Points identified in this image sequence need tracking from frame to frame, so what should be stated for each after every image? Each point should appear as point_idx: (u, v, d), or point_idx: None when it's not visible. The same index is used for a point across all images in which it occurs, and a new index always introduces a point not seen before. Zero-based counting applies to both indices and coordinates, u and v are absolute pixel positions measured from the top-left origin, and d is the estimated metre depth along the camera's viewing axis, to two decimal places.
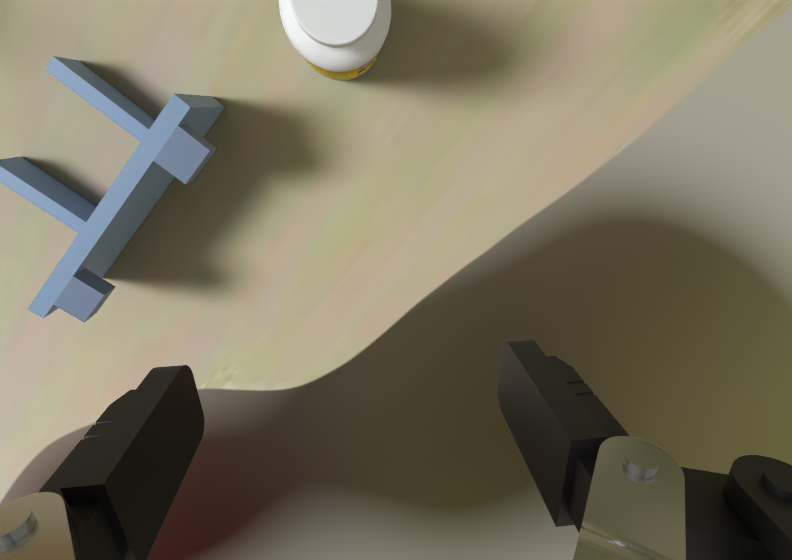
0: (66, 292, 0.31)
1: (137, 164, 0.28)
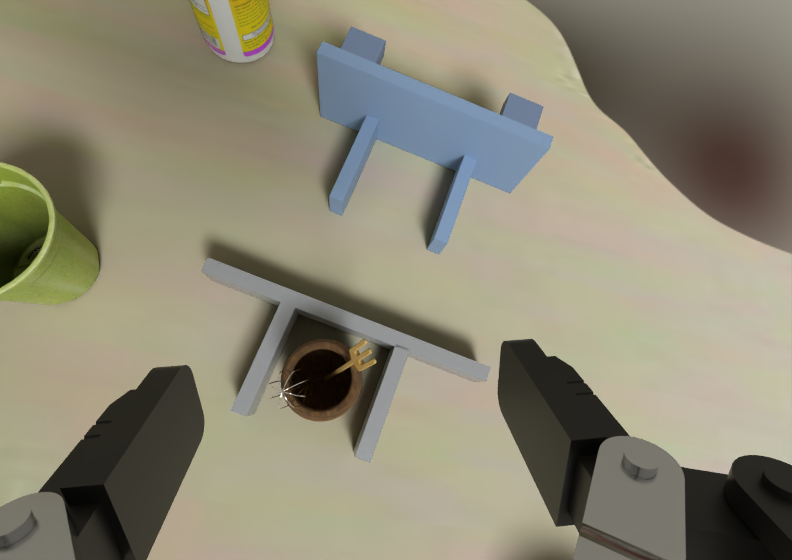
0: (520, 119, 0.34)
1: (383, 73, 0.33)
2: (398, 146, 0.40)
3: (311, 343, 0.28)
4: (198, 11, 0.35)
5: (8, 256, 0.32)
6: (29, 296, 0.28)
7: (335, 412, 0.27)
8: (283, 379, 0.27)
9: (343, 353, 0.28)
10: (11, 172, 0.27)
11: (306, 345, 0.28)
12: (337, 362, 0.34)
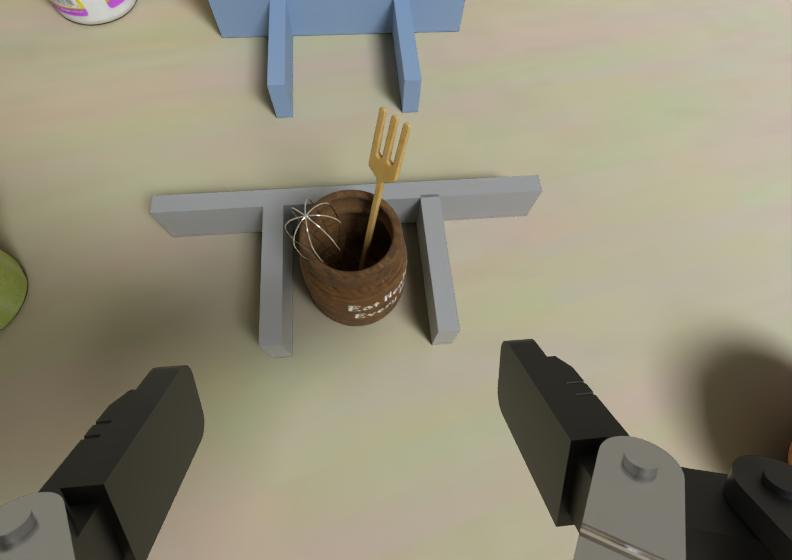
0: None
1: None
2: (320, 31, 0.35)
3: (319, 200, 0.21)
4: None
5: None
6: None
7: (389, 260, 0.20)
8: (304, 251, 0.20)
9: (364, 195, 0.21)
10: None
11: (314, 204, 0.21)
12: None
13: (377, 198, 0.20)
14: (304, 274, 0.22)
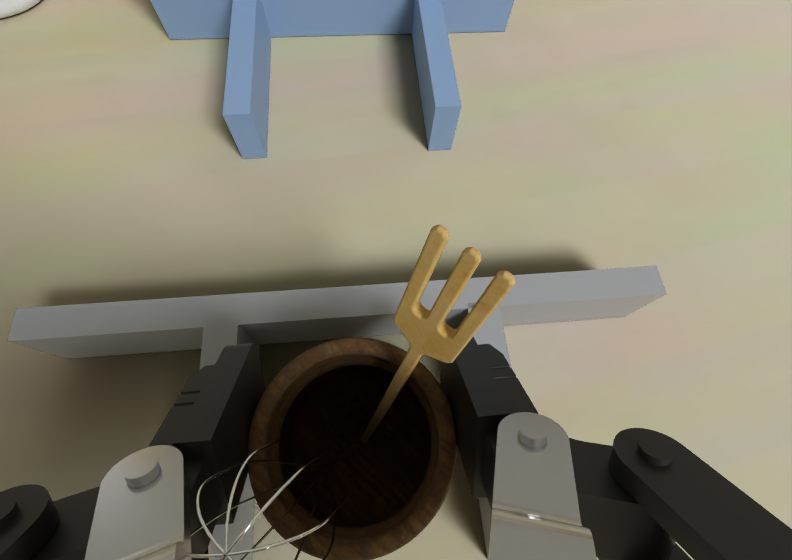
0: None
1: None
2: (309, 31, 0.24)
3: (290, 364, 0.10)
4: None
5: None
6: None
7: (433, 511, 0.09)
8: (255, 491, 0.09)
9: (379, 351, 0.11)
10: None
11: (280, 374, 0.10)
12: (371, 397, 0.17)
13: (408, 371, 0.10)
14: None
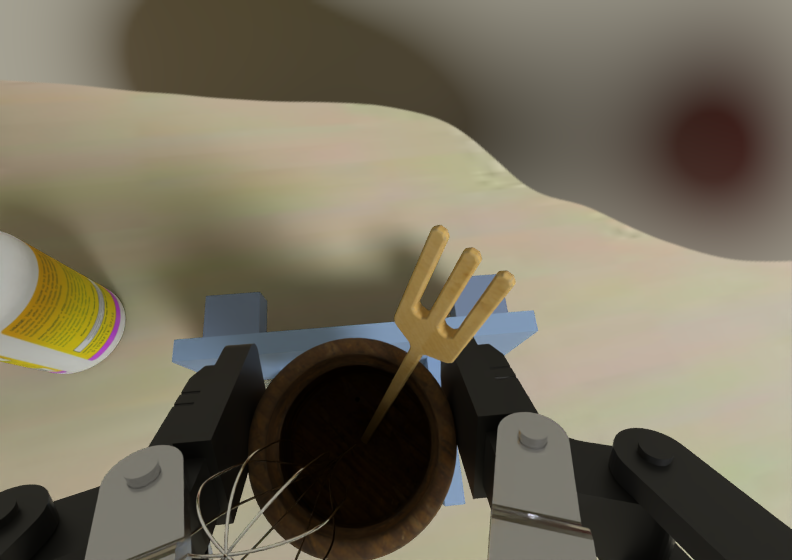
0: None
1: (275, 342, 0.23)
2: None
3: (290, 364, 0.10)
4: None
5: None
6: None
7: (433, 511, 0.09)
8: (255, 491, 0.09)
9: (379, 351, 0.11)
10: None
11: (280, 374, 0.10)
12: (371, 397, 0.17)
13: (408, 371, 0.10)
14: None
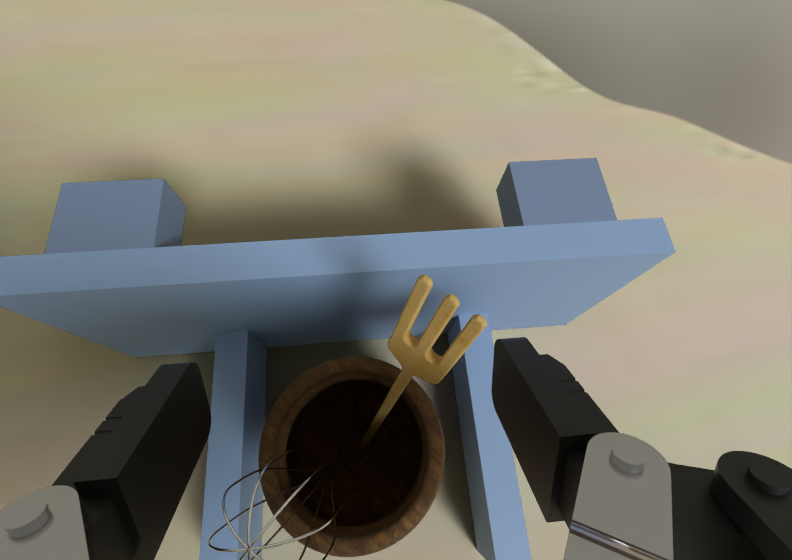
0: (568, 215, 0.13)
1: (183, 265, 0.12)
2: (317, 341, 0.19)
3: (296, 380, 0.12)
4: None
5: None
6: None
7: (422, 512, 0.11)
8: (266, 494, 0.11)
9: (376, 369, 0.12)
10: None
11: (287, 390, 0.12)
12: (370, 405, 0.18)
13: (401, 388, 0.11)
14: None
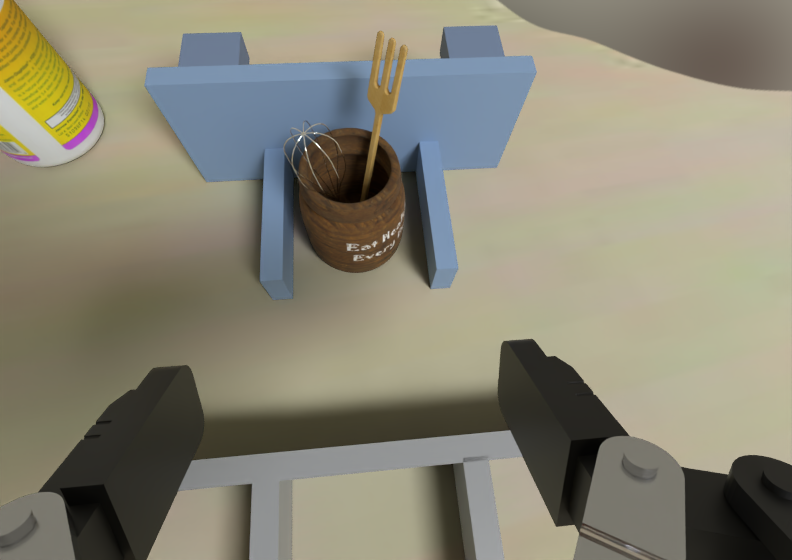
0: (476, 53, 0.22)
1: (255, 73, 0.21)
2: None
3: (318, 137, 0.21)
4: None
5: None
6: None
7: (386, 193, 0.20)
8: (303, 184, 0.20)
9: (362, 132, 0.21)
10: None
11: (313, 141, 0.21)
12: None
13: (375, 133, 0.20)
14: (303, 212, 0.22)
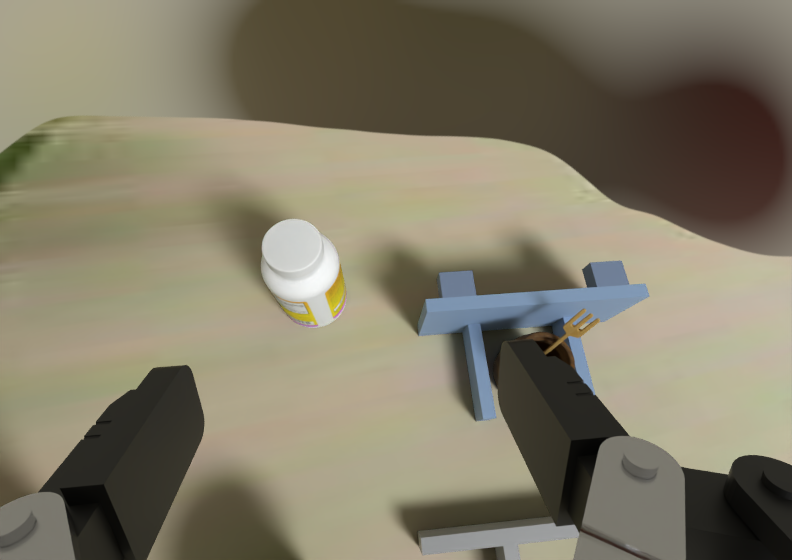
0: (612, 283, 0.37)
1: (487, 301, 0.36)
2: (496, 329, 0.43)
3: None
4: (296, 313, 0.38)
5: None
6: None
7: None
8: None
9: (550, 335, 0.36)
10: None
11: None
12: None
13: (561, 341, 0.35)
14: None
